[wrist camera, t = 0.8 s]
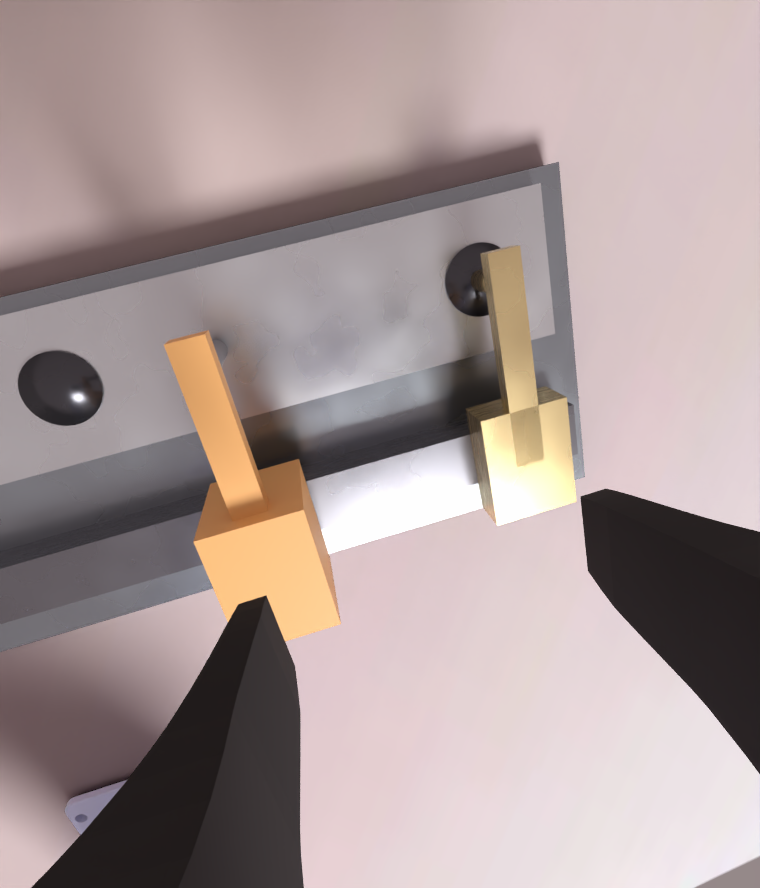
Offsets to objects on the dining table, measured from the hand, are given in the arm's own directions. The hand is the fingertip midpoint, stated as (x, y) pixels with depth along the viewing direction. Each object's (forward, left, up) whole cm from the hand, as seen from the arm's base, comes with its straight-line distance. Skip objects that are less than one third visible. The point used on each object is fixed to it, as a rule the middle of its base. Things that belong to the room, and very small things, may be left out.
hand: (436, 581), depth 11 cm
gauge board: (+2, +6, -10) cm, 12 cm away
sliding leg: (+1, +4, -8) cm, 9 cm away
